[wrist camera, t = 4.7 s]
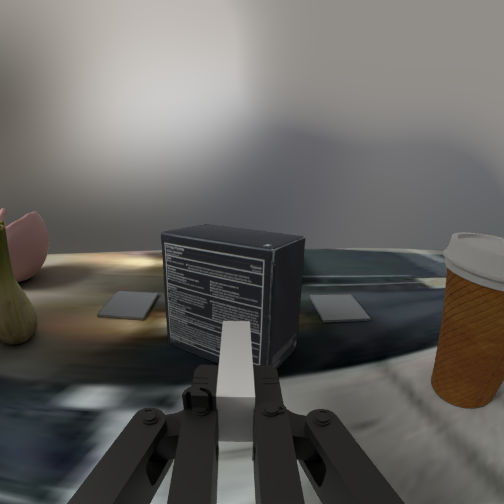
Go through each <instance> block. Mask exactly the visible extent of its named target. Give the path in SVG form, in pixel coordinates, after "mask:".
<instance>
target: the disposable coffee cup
mask: <svg viewBox="0 0 504 504" xmlns="http://www.w3.org/2000/svg"><path fill="white" fill-rule="evenodd" d="M443 255H444V257H445V258H446V259H445V264H446V266H447V275H446V289H445V298H444V306H443V314H442V322H441V329H440V336H439V342H438V348H437V352H436V358H435V364H434V368H433V374H432V377H431V383H432V387H433V389H434V390H435V392H436V393H437V394H438V395H439V396H440V397H441V398H442V399H444V400H445V401H447V402H449V403H451V404H453V405H456V406H460V407H464V408H477V407H482V406H485V405H486V404H488V403H489V402H490V401H491V400H492V399H493V397H494V395H495V394H496V392H497V390H498V389H499V387H500V385H501V384H502V382H503V381H504V238H501V237H496V236H491V235H485V234H477V233H456V234H453V235H452V237H451V241H450V243H449V246H448V248H446V249H445V250H444V254H443Z"/></svg>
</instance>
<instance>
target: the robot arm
mask: <svg viewBox="0 0 504 504" xmlns="http://www.w3.org/2000/svg"><path fill="white" fill-rule="evenodd" d="M182 398H183V406H184V410H182V411H180V412H178V413H174V414H169V415H165V414H164V413H163V412H162V411H161V410H158V409H156V408H145V409H142V410H140V411H138V412H137V413H136V414H135V415H134V416H133V418H132V419H131V420H130V422H129V423H128V424H127V426H126V427H125V428H124V430H123V431H122V432H121V434H120V435H119V436H118V437H117V439H116V440H115V441H114V443H113V444H112V445H111V447H110V448H109V449H108V451H107V452H106V453H105V455H104V456H103V457H102V459H101V460H100V461H99V463H98V464H97V465H96V466H95V468H94V469H93V470H92V472H91V473H90V474H89V476H88V477H87V478H86V480H85V481H84V482H83V484H82V485H81V486H80V487H79V489H78V490H77V491H76V493H75V494H74V495H73V497H72V498H71V499H70V501H69V502H68V503H67V504H150V503H151V501H152V499H153V497H154V495H155V494H156V492H157V490H158V488H159V486H160V484H161V483H162V481H163V479H164V477H165V475H166V473H167V472H168V470H169V468H170V466H171V464H172V462H173V459H175V461H174V466H173V472H172V478H171V484H170V489H169V495H168V502H167V504H216V503H217V478H218V456H219V446H218V441H233V442H253V458H252V461H253V462H254V481H255V499H256V504H305V503H304V498H303V492H302V487H301V481H300V476H299V471H298V465H297V460H299V463H300V465H301V467H302V468H303V470H304V472H305V474H306V476H307V477H308V479H309V481H310V483H311V485H312V486H313V488H314V490H315V492H316V493H317V495H318V497H319V499H320V500H321V502H322V504H405V503H404V502H403V501H402V499H401V498H400V497H399V496H398V494H397V493H396V492H395V491H394V489H393V488H392V487H391V486H390V484H389V483H388V482H387V481H386V479H385V478H384V477H383V475H382V474H381V473H380V472H379V470H378V469H377V468H376V466H375V465H374V464H373V463H372V461H371V460H370V459H369V457H368V456H367V455H366V454H365V452H364V451H363V450H362V448H361V447H360V446H359V444H358V443H357V442H356V441H355V439H354V438H353V437H352V435H351V434H350V433H349V431H348V430H347V429H346V427H345V426H344V425H343V423H342V422H341V421H340V419H339V418H338V417H337V416H336V415H335V414H334V413H333V412H331V411H329V410H324V409H318V410H314V411H311V412H310V413H309V414H308V415H307V416H304V415H298V414H294V413H292V412H290V411H289V410H287V409H286V407H285V406H284V404H283V399H282V394H281V388H280V383H279V377H278V372H277V370H276V369H275V368H274V366H273V365H253V360H252V346H251V331H250V321H223V326H222V336H221V347H220V358H219V365H199V366H198V367H197V368H196V369H195V371H194V376H193V381H192V386H191V387H189V388H187V389H186V390H185V391H184V392H183V394H182ZM296 459H297V460H296Z"/></svg>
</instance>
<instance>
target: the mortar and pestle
mask: <svg viewBox="0 0 504 504" xmlns="http://www.w3.org/2000/svg"><path fill="white" fill-rule="evenodd" d="M5 214H6V210H5V209H4V208H2V209H1V210H0V221H1V220H3V221H4V216H5ZM4 226H5V229H6V235H7V243H8V249H9V256H10V261H11V266H12V271H13V275H14V278H15V280H16V281H17V282H21V281H25V280H27V279H29V278H31V277H32V276H33V275H35V274H36V273H37V272H38V271H39V269H40V268H41V267H42V265H43V263H44V261H45V259H46V256H47V253H48V247H49V239H48V232H47V229H46V226H45V223H44V221H43V220H42V218H41V217H40V215H39V214H38V213H37V212H32V213H27V214H26V215H25V216H24V217H23V218H21V219H19V220H16V221H15V222H13V223H11V224H10V225H8V226H7V225H6V223H5V221H4Z"/></svg>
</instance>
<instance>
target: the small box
mask: <svg viewBox="0 0 504 504" xmlns="http://www.w3.org/2000/svg"><path fill="white" fill-rule="evenodd" d="M161 243H162V255H163V269H164V272H163V273H164V291H165V306H166V319H167V333H168V343H169V344H171V345H173V346H176V347H178V348H180V349H183V350H185V351H188V352H190V353H192V354H195V355H197V356H200V357H203V358H205V359H207V360H210V361H213V362H215V363H218V364H219V358H220V347H221V336H222V326H223V321H250V331H251V346H252V360H253V365H273V366H274V368H275V369H276V370H277V369H278V367H279V366H280V365H281V364H282V363H283V362H284V361H285V360H286V359H287V358H288V357H289V356H290V355H291V354H292V352H293V351H294V350H295V348H296V346H297V333H298V323H299V313H300V299H301V287H302V274H303V262H304V246H305V237H304V236H296V235H289V234H281V233H273V232H265V231H258V230H250V229H242V228H234V227H225V226H217V225H209V224H204V225H199V226H194V227H187V228H181V229H176V230H171V231H165V232H162V233H161Z"/></svg>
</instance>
